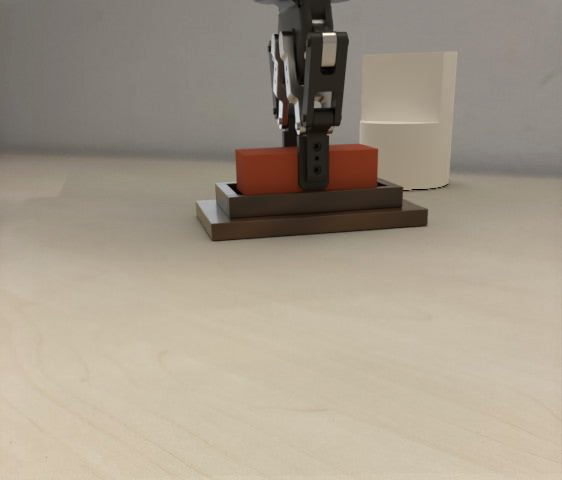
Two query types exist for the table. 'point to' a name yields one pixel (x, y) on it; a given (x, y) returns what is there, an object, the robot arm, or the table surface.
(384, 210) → the dark wooden tray
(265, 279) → the table surface
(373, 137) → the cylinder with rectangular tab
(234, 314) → the table surface
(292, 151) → the red rectangular block
